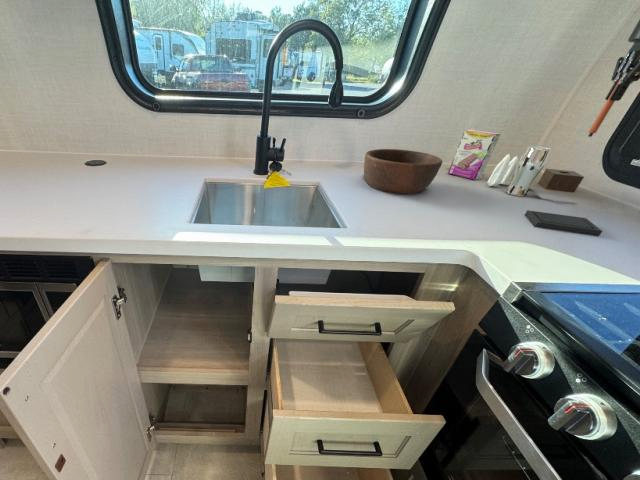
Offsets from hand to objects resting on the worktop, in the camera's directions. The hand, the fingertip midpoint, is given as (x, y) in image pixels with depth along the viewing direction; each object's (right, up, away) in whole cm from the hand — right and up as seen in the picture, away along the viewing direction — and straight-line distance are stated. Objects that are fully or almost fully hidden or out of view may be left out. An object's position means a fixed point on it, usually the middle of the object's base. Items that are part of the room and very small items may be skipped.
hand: (612, 100), depth 87 cm
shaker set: (-5, -12, +32) cm, 35 cm away
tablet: (-13, -34, +2) cm, 37 cm away
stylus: (0, -7, +5) cm, 9 cm away
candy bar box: (-11, -5, +42) cm, 44 cm away
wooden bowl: (-46, -13, +29) cm, 56 cm away
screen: (-13, -34, +2) cm, 37 cm away
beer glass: (-5, -18, +25) cm, 31 cm away
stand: (+10, -17, +26) cm, 33 cm away
